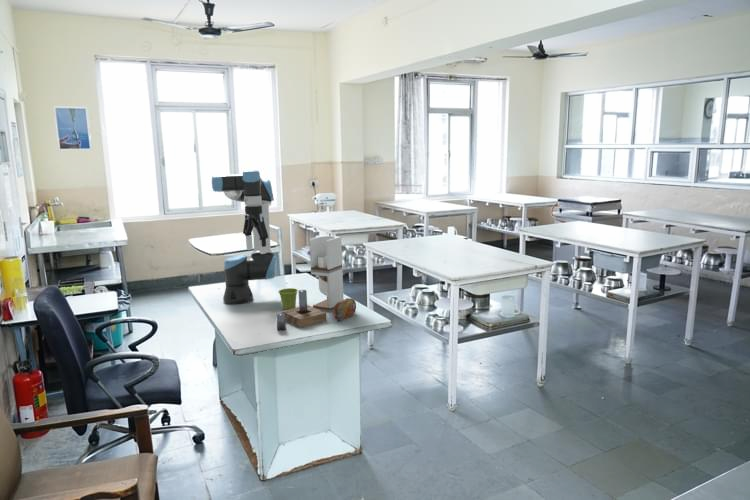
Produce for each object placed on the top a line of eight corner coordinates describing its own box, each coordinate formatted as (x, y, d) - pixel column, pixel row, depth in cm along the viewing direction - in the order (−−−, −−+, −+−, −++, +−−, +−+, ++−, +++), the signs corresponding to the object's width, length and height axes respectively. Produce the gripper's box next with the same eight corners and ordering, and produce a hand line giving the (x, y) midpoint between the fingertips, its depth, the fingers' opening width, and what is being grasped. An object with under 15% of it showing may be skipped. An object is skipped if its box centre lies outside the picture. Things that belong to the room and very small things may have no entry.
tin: (338, 322, 238) (337, 305, 236) (332, 321, 240) (331, 304, 238) (356, 313, 250) (356, 296, 249) (351, 312, 252) (350, 295, 250)
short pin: (275, 329, 231) (274, 314, 230) (283, 327, 233) (282, 312, 232) (280, 331, 228) (279, 316, 227) (287, 329, 231) (286, 314, 229)
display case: (326, 303, 268) (323, 235, 261) (343, 306, 263) (341, 236, 256) (312, 309, 258) (309, 239, 252) (330, 312, 253) (327, 240, 246)
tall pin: (298, 320, 243) (296, 290, 240) (305, 318, 245) (303, 289, 242) (302, 322, 240) (301, 292, 238) (309, 320, 242) (307, 290, 240)
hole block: (282, 319, 244) (281, 311, 244) (307, 312, 253) (307, 304, 252) (300, 328, 232) (299, 319, 231) (326, 320, 241) (326, 312, 240)
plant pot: (294, 310, 257) (293, 293, 255) (276, 310, 259) (275, 293, 257) (301, 305, 266) (300, 288, 264) (283, 304, 268) (282, 288, 266)
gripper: (233, 204, 245) (237, 249, 249) (258, 208, 226) (261, 256, 230) (248, 202, 249) (251, 246, 253) (274, 206, 230) (277, 254, 234)
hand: (256, 251), depth 241 cm, fingers open, 13 cm apart
